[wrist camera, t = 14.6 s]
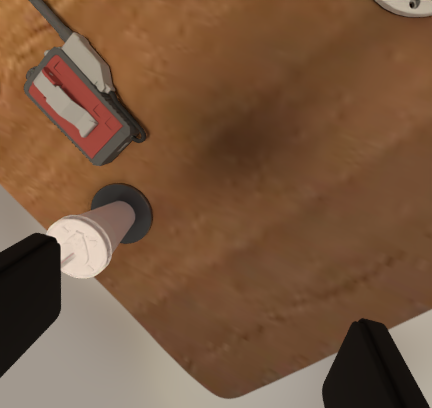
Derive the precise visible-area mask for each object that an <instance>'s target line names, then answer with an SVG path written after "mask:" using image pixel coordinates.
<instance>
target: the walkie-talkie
mask: <svg viewBox="0 0 432 408" xmlns="http://www.w3.org/2000/svg"><path fill="white" fill-rule="evenodd" d="M29 1H30V2H31V3H32V4H33V5H34V7H35V8H36V9H37V10H38V11H39V12H40V13H41V14H42V15H43V17H44V18H45V19H46V20H47V21H48V22H49V23H50V24H51V26H52V27H53V28H54V29H55V30H56V31H57V32H58V33H59V36H60V38H61V39H62V40H63V41H64V42H65V44H64V45H63V47H58V48H57V47H53V48H52V49H51V50H47V51H46V52H45V53H44V55H45V57H44V58H43V60H42V61H41V62H40V64H39V65H38V66H36V67H33V68H31V69H30V70H29V71H28V72H27V74H26V79H27V81H26V83H25V85H24V91H25V94H26V95H27V96H28V97H29V98H30V99H31V100H32V101H33V102H34V103H35V104H36V105H37V107H38V108H39V109H40V110H41V111H42V112H43V113H44V114H45V115H46V116H47V117H48V118H49V119H50V120H51V121H52V122H53V123H54V124H55V125H56V126H57V127H58V128H59V129H60V130H61V132H63V133H64V134H65V136H67V137H68V139H69V140H71V141H72V143H74V144H75V146H76V147H77V148H78V149H79V150H80V151H81V152H82V154H83V155H85V156H86V158H88V159H89V161H90V162H92V163H93V165H97V166H102V165H105V164H108V163H110V162H112V161H113V160H114V159H115V158H116V157H117V156H118V155H119V154H120V153H121V151H122V150H123V149H124V148H125V147H126V146H127V145H128V144H129V143H130V142H131V141H132V140H133V141H135V142H137V143H140V142H143V141H145V139H146V133H145V131H144V129H143V128H142V127H141V126H140V125H139V124H138V123H137V121H136V120H135V119H134V118H133V117H132V116H131V115H130V114H129V113H128V111H127V110H126V109H125V108H124V107H123V106H122V105H121V104H120V102H119V101H118V99H117V96H116V94H115V92H114V91H115V89H114V87H113V85H112V80H111V74H110V69H109V66H108V65H107V64H106V63H105V62H104V61H103V59H102V58H101V57H100V56H99V55H98V54H97V53H96V51H95V50H94V49H93V48H92V47H91V46H90V45H89V42H88V40H87V39H86V38H85V37H84V36H82V35H80V34H78V33H76V32H74V33H73V32H72V31H71V30H70V29H69V28H68V27H66V26H65V25H64V24H63V23H62V22H61V21H60V20H59V18H58V17H57V16H56V15H55V14H54V13H53V12H52V11H51V10H50V8H49V7H48V6H47V5H46V4H45V3H44V2H43V1H42V0H29ZM139 131H140V133H141V136H142V137H141V139H138V138H136V136H137V135H138V134H139Z"/></svg>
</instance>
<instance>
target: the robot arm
mask: <svg viewBox="0 0 432 408" xmlns="http://www.w3.org/2000/svg"><path fill="white" fill-rule="evenodd" d="M375 1H376V2H377V3H378V4H380V5H381V6H382V7H383V8H384V9H386V10H389V11H391V12H393V13H395V14H398V15H402V16H407V17H426V16H431V15H432V0H375ZM409 3H410V4H412V8H410V6H409ZM60 311H61V246H60V244H59V243H57V240H56V238H55V237H52V236H48V235H45V234H40V233H34V234H32V235H30V236H28V237H27V238H25V239H23V240H21V241H20V242H18V243H16V244H14V245H12V246H11V247H9V248H7V249H5V250H4V251H2V252H0V378H1V377H2V376H3V374H4V373H5V372H6V371H7V370H8V369H9V368H10V367H11V366H12V365H13V364H14V363H15V362H16V361H17V360H18V359H19V358H20V357H21V356H22V355H23V354H24V353H25V352H26V350H27V349H28V348H29V347H30V346H31V345H32V344H33V343H34V342H35V341H36V340H37V339H38V338H39V337H40V336H41V335H42V334H43V333H44V331H46V330H47V328H49V326H50V325H51V324H52V323H53V322H54V321H55V320H56V319H57V317H58V316H59V313H60ZM322 395H323V401H324V407H325V408H430V407H429V405H428V403H427V401H426V399H425V398H424V396H423V394H422V392H421V390H420V388H419V387H418V385H417V383H416V381H415V380H414V377H413V376H412V374H411V372H410V370H409V369H408V366H407V365H406V363H405V361H404V359H403V357H402V355H401V354H400V352H399V350H398V348H397V346H396V344H395V343H394V341H393V339H392V337H391V335H390V333H389V332H388V330H387V328H386V326H385V325H384V324H382V323H379V322H375V321H372V320H368V319H364V318H361V319H360V320H359V321H358V322H356V321H355V322H353V323H352V324H351V326H350V328H349V330H348V333H347V335H346V337H345V339H344V341H343V343H342V345H341V347H340V349H339V352H338V354H337V356H336V358H335V360H334V362H333V364H332V366H331V369H330V371H329V373H328V375H327V377H326V379H325V381H324V384H323V388H322Z"/></svg>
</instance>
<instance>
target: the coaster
mask: <svg viewBox="0 0 432 408" xmlns="http://www.w3.org/2000/svg"><path fill="white" fill-rule="evenodd" d="M116 201H123V202H126V203H127V204H129V205H130V206H131V207H132V208H133V210H134V213H135V221H134V223H133V225H132V226H131V227H130V229H129V230H128V232H127V233H126V234H125V236H124V237H123V239H122V240H121V242H120V243H124V244H127V243H134V242H136V241H138V240H140V239H142V238H143V237H144V236H145V235H146V234H147V233H148V231H149V230H150V228H151V225H152V220H153V214H152V209H151V206H150V204H149V202H148V200H147V198H146V197H145V196H144V195H143V194H142V193H141V192H140V191H139V190H137V189H136V188H134V187H132V186H130V185H127V184H122V183H114V184H110V185H107V186H105V187H103V188H102V189H100V190H99V191H98V192H97V193H96V195H95V196H94V198H93V201H92V204H91V210H94V209H96V208H99V207H102V206H104V205H107V204H110V203H113V202H116Z"/></svg>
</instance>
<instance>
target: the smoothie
mask: <svg viewBox="0 0 432 408" xmlns="http://www.w3.org/2000/svg"><path fill="white" fill-rule="evenodd" d="M134 221H135V213H134V210H133V208H132V207H131V206H130V205H129V204H127V203H126V202H123V201H116V202H113V203H110V204H107V205H104V206H102V207H99V208H96V209H94V210H91V211H88V212H85V213H83V214H79V215H69V216H65V217H63V218H61V219H59V220H58V221H57V222H55V223H54V224H52V225H51V226H50V228H49V229H48V231H47V233H46V235H48V236H52V237H55V238H56V240H57V243H59V244H60V246H61V271H62V272H64V273H65V274H67V275H69V276H72V277H75V278H90V277H93V276H96V275H97V274H99V273H100V272H101V271H102V270H104V269H105V267H106V266H107V265H108V264H109V262H110V260H111V256H112V253H113V252H114V250H115V249H116V247H117V246H118V244H119V243H120V242H121V240H122V239H123V237H124V236H125V234H126V233H127V232H128V230H129V229H130V227H131V226H132V225H133V223H134Z"/></svg>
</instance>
